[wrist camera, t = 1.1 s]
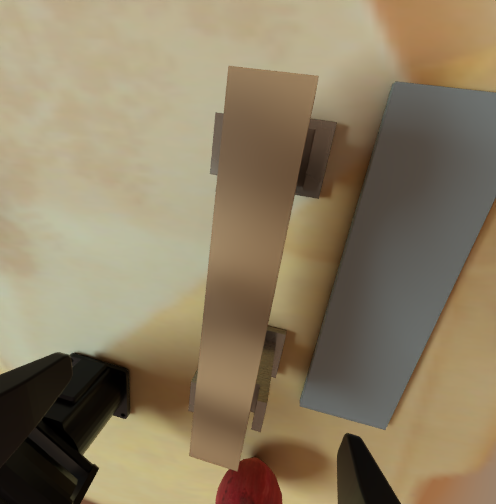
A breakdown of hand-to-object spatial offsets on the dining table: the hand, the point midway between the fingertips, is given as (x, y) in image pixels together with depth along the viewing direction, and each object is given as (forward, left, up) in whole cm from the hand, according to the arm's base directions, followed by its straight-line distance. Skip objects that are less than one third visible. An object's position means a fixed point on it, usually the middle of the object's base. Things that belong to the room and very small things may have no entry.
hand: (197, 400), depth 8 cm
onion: (-21, -3, -13) cm, 25 cm away
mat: (0, -9, -12) cm, 15 cm away
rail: (0, 0, -7) cm, 7 cm away
